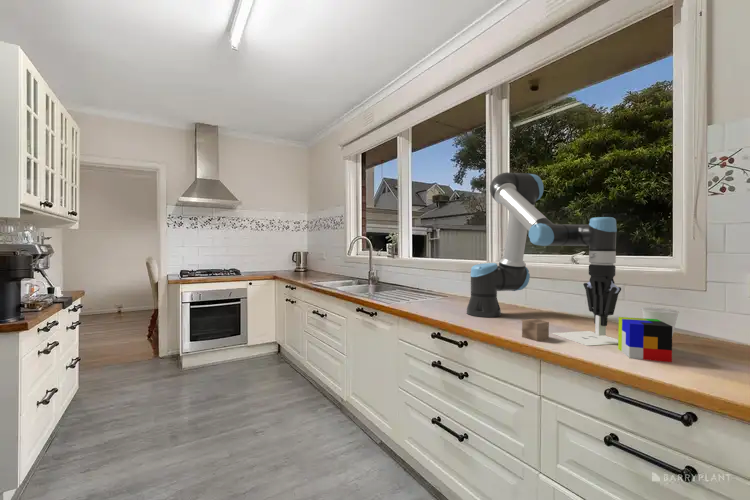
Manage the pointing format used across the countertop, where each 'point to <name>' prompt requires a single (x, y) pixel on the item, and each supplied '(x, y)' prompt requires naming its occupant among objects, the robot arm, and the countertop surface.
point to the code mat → (588, 338)
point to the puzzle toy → (645, 339)
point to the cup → (661, 315)
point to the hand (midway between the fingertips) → (600, 334)
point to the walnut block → (535, 329)
